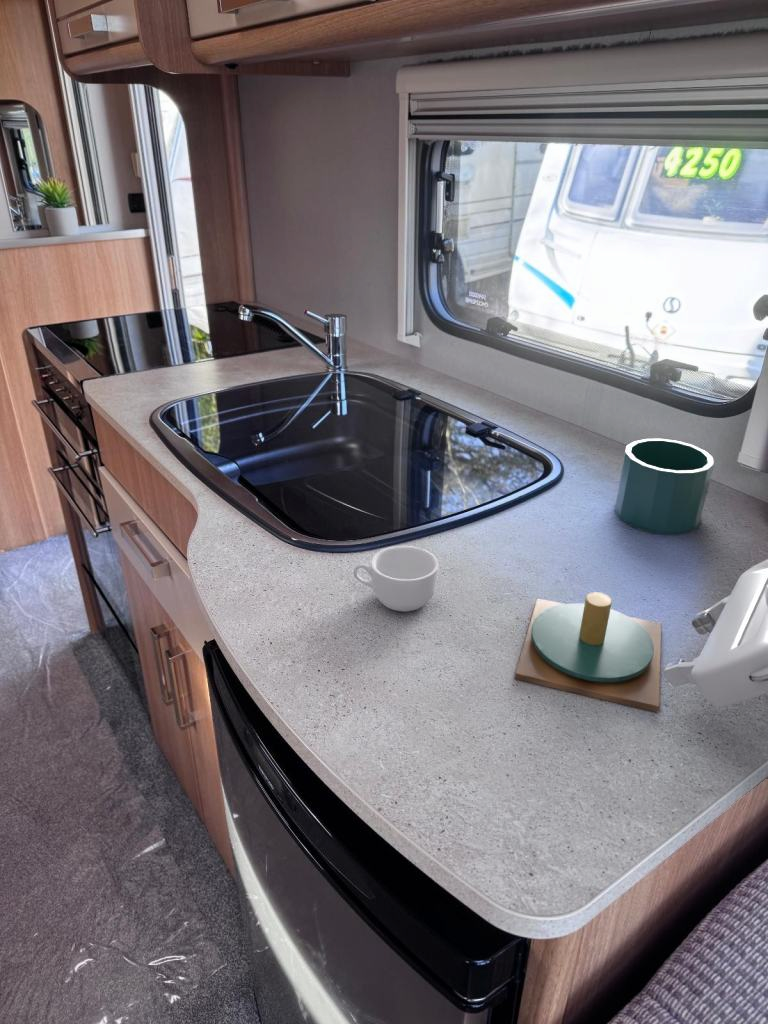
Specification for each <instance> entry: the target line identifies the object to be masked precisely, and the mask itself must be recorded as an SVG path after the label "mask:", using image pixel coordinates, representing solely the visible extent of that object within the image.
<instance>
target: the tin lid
mask: <svg viewBox="0 0 768 1024" xmlns="http://www.w3.org/2000/svg"><path fill="white" fill-rule="evenodd" d="M584 599H585V600H584V602H568V603H563V604H561V605H557V606H554V607H551V608H549V609H547V610H545V611H544V612H542V613H541V614H540V615H539V616H538V617H537V618H536V620H535V621H534V623H533V626H532V632H531V637H532V642H533V645H534V647H535V649H536V650H537V652H538V653H539V654H540V655H541V657H542V658H543V659H544V660H546V661H547V662H548V663H549V664H551V665H552V666H553V667H555V668H557V669H558V670H560V671H562V672H564V673H566V674H569V675H571V676H574V677H577V678H581V679H584V680H590V681H596V682H618V681H624V680H628V679H631V678H634V677H636V676H638V675H640V674H641V673H643V672H644V671H645V670H646V669H647V668H648V667H649V665H650V664H651V661H652V658H653V653H654V647H653V643H652V640H651V638H650V636H649V635H648V633H647V632H646V631H645V629H644V628H643V627H642V626H641V625H639V624H638V623H637V622H636V621H634V620H633V619H632V618H630V617H631V616H628V615H626V614H624V613H623V612H620V611H619V610H615V609H613V608H612V604H613V600H612V598H611V597H610V596H609V595H607V594H606V593H604V592H598V591H594V592H589V593H587V594H586V596H585V598H584Z"/></svg>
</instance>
